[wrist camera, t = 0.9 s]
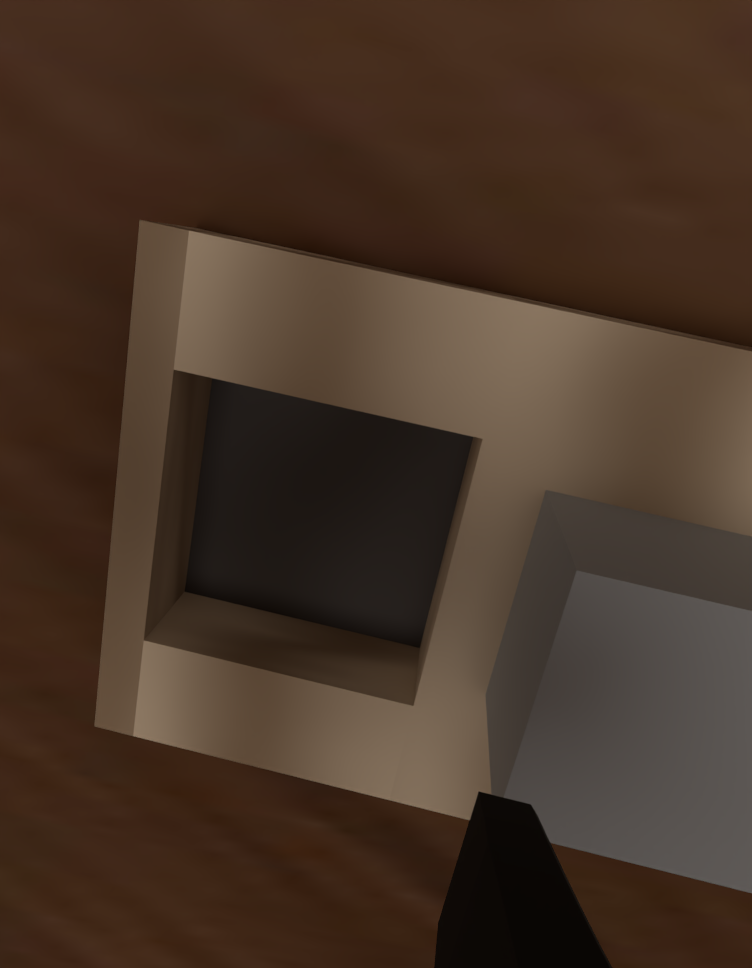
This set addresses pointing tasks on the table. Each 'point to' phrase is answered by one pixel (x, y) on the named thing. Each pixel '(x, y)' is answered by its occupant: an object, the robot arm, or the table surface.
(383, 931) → the table surface
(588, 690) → the block
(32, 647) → the table surface
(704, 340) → the trap deck
